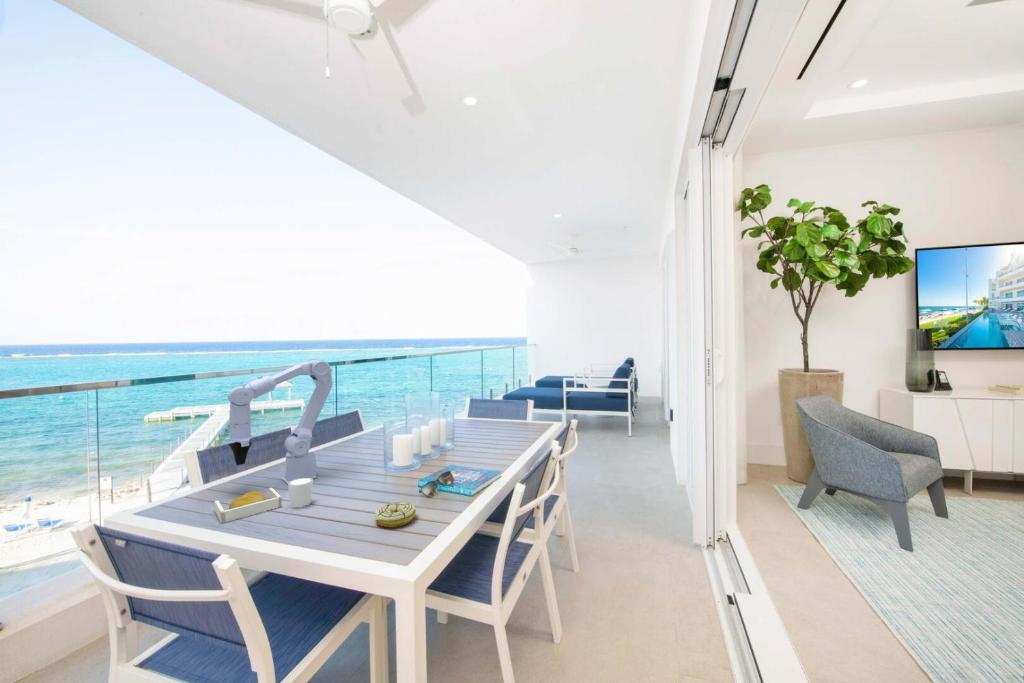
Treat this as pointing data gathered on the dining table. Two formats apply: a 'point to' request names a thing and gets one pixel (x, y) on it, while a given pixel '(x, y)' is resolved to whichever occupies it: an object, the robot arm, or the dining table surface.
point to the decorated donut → (395, 514)
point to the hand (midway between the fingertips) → (240, 464)
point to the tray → (248, 508)
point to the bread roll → (247, 499)
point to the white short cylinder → (300, 491)
